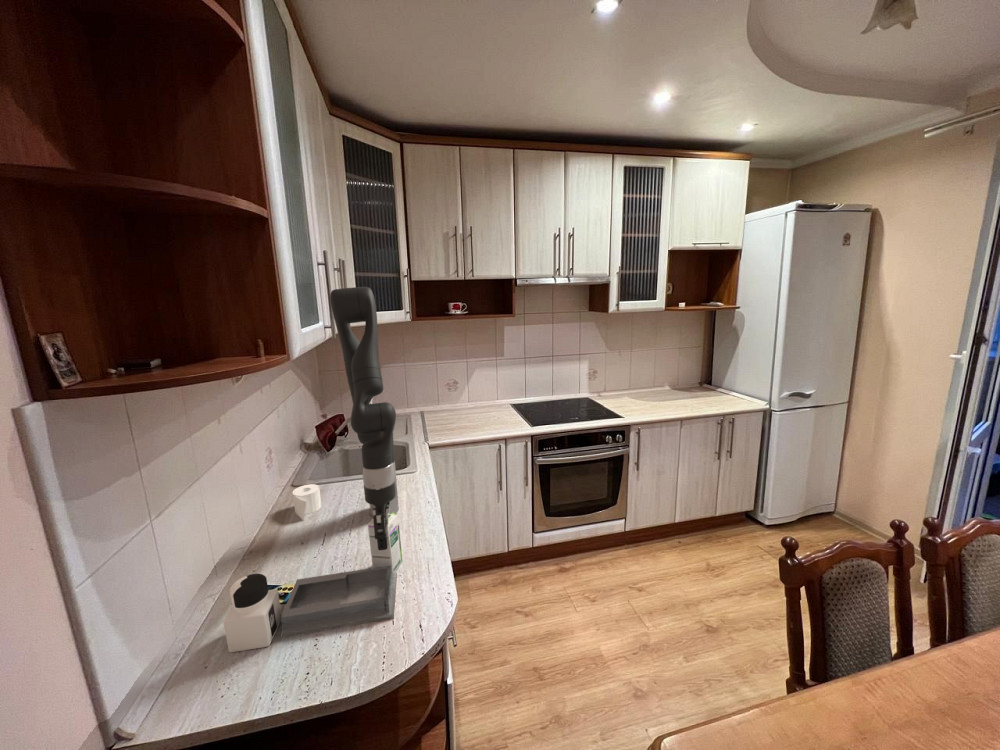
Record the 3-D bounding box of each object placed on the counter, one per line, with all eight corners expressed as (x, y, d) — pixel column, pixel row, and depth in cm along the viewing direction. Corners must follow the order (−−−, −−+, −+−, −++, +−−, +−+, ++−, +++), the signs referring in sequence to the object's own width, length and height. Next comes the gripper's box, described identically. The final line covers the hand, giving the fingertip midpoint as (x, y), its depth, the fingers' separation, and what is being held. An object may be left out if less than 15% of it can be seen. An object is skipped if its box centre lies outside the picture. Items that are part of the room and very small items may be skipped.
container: (282, 618, 90) (274, 566, 87) (269, 647, 82) (260, 591, 80) (245, 623, 89) (236, 571, 86) (228, 653, 81) (217, 597, 79)
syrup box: (393, 576, 103) (388, 524, 100) (372, 573, 104) (367, 522, 101) (402, 561, 108) (398, 512, 105) (382, 559, 109) (378, 510, 107)
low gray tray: (300, 591, 98) (298, 576, 97) (396, 575, 103) (395, 562, 102) (281, 637, 85) (279, 621, 84) (394, 617, 89) (392, 602, 88)
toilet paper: (303, 521, 130) (300, 501, 128) (291, 508, 138) (289, 490, 136) (328, 511, 135) (326, 492, 134) (316, 500, 143) (313, 482, 142)
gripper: (367, 471, 107) (372, 526, 110) (359, 495, 94) (365, 558, 96) (396, 468, 109) (400, 523, 112) (392, 492, 95) (397, 554, 98)
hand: (384, 539), depth 104 cm, fingers open, 8 cm apart
